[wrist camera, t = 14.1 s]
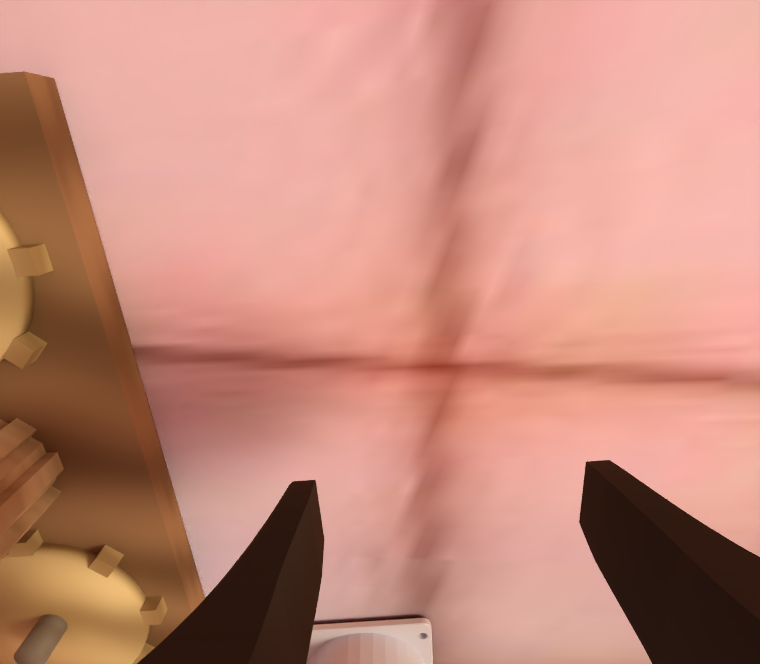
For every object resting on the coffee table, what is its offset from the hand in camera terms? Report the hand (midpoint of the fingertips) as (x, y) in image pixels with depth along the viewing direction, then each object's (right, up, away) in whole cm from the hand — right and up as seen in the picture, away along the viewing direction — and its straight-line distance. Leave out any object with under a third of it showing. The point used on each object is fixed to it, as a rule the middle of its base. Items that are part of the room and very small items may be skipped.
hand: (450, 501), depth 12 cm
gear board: (-19, -1, +10) cm, 21 cm away
